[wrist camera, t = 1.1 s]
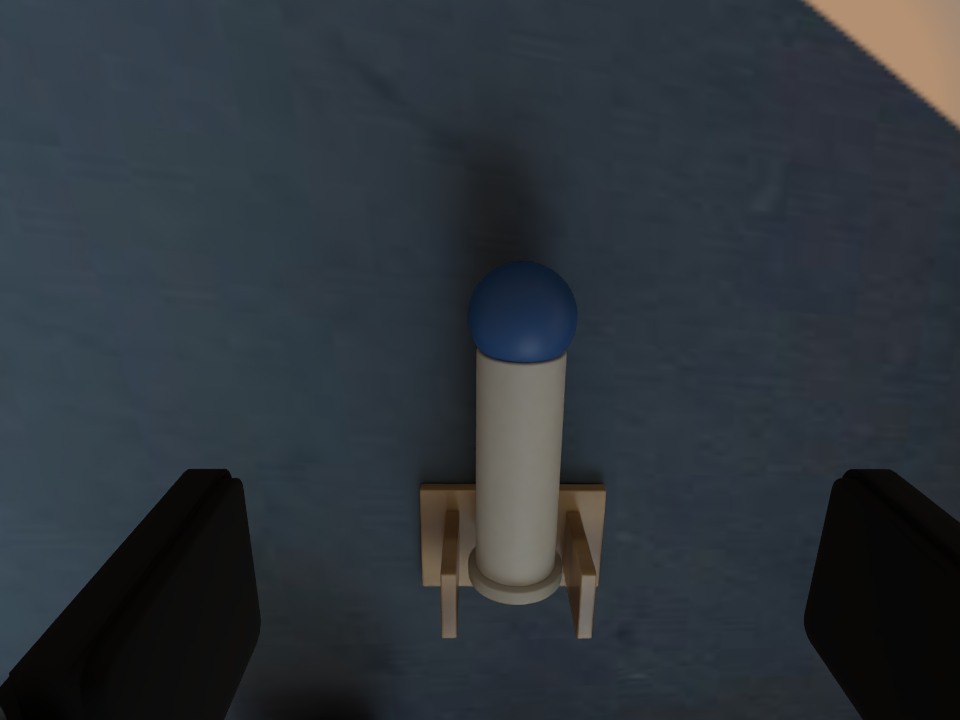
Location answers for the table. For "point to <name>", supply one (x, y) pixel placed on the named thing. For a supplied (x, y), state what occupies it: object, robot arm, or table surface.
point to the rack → (455, 537)
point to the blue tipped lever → (519, 429)
